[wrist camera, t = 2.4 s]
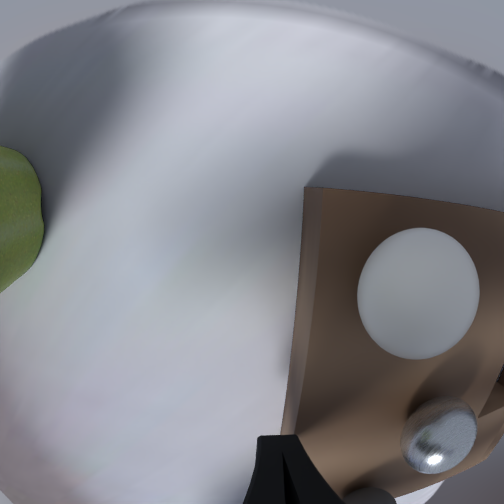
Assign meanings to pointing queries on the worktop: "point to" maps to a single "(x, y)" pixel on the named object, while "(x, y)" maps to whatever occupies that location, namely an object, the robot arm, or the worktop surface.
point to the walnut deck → (372, 355)
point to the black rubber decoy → (369, 496)
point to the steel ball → (438, 435)
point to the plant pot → (18, 216)
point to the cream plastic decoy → (418, 293)
